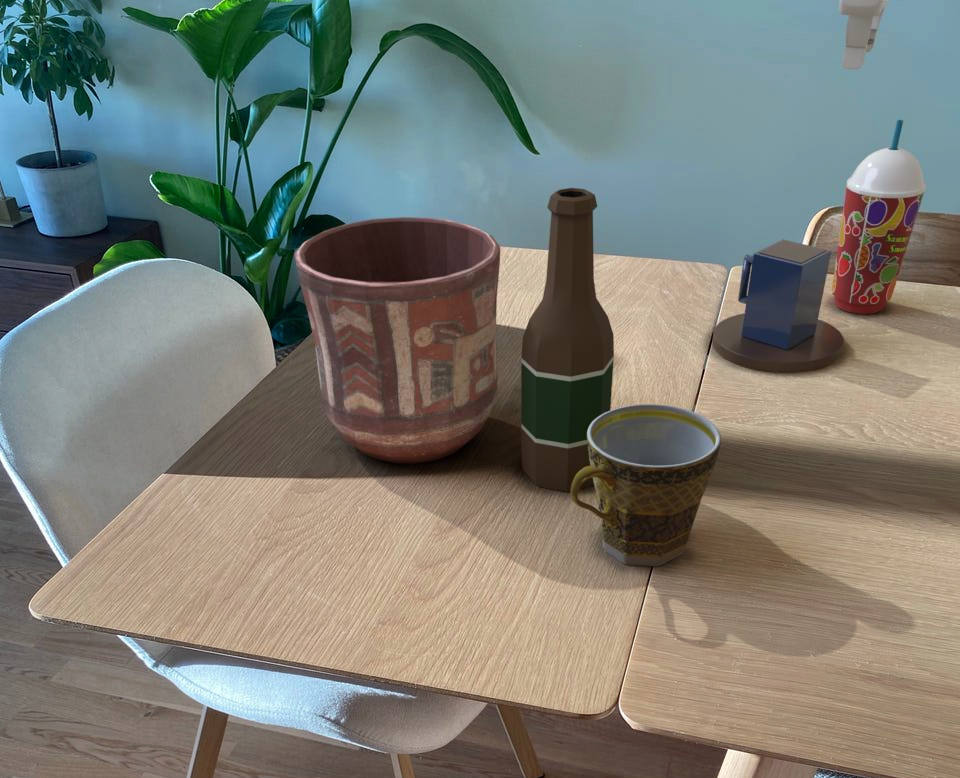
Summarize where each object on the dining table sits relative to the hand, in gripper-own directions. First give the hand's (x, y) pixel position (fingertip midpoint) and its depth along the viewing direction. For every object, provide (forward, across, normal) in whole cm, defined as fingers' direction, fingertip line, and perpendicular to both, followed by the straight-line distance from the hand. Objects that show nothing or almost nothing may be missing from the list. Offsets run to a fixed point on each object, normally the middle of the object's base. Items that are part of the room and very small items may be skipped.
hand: (857, 58), depth 94 cm
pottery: (+28, -37, +31) cm, 56 cm away
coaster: (+27, -5, +2) cm, 28 cm away
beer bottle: (+28, -39, +15) cm, 50 cm away
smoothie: (+27, +10, -5) cm, 30 cm away
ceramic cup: (+28, -49, +6) cm, 56 cm away
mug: (+26, -4, +3) cm, 27 cm away
